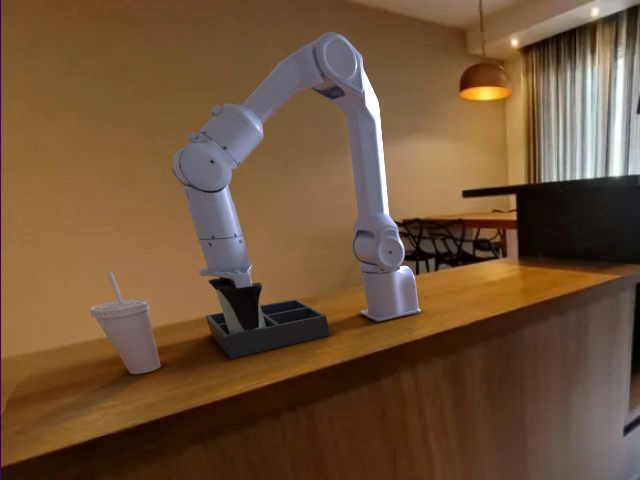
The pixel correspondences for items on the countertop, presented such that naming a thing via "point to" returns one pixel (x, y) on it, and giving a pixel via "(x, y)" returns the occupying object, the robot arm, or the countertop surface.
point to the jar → (231, 317)
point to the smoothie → (129, 330)
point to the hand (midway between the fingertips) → (246, 324)
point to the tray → (271, 329)
